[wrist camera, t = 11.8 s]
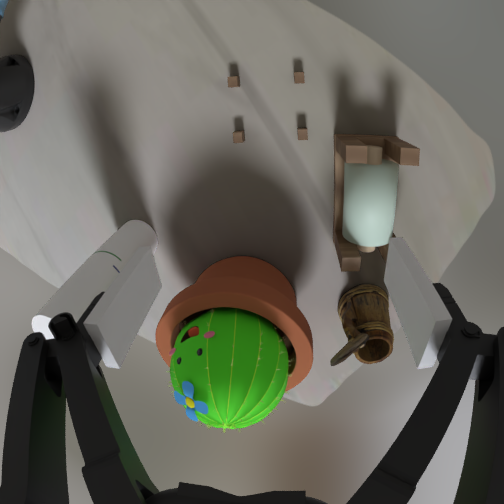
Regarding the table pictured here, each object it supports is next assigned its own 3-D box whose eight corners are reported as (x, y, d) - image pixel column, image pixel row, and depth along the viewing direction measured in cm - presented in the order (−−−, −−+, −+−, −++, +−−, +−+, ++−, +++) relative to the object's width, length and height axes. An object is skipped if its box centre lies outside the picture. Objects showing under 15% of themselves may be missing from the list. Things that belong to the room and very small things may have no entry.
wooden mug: (348, 257, 48) (369, 338, 32) (396, 302, 51) (425, 380, 35) (309, 292, 52) (313, 376, 36) (360, 331, 55) (374, 411, 39)
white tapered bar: (137, 263, 53) (63, 366, 31) (113, 231, 50) (24, 324, 29) (166, 246, 51) (91, 356, 29) (140, 212, 48) (46, 307, 26)
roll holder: (333, 134, 39) (345, 144, 31) (396, 136, 38) (420, 148, 30) (332, 240, 47) (340, 272, 39) (388, 239, 45) (405, 270, 37)
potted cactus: (331, 313, 53) (344, 440, 32) (235, 357, 61) (211, 467, 40) (258, 216, 46) (228, 336, 24) (159, 281, 54) (96, 391, 33)
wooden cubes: (230, 77, 37) (227, 77, 35) (303, 73, 36) (303, 72, 34) (236, 140, 41) (233, 143, 39) (306, 137, 40) (307, 139, 38)
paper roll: (341, 141, 39) (348, 151, 33) (391, 144, 37) (406, 154, 31) (339, 236, 45) (343, 260, 39) (384, 237, 44) (395, 260, 38)
